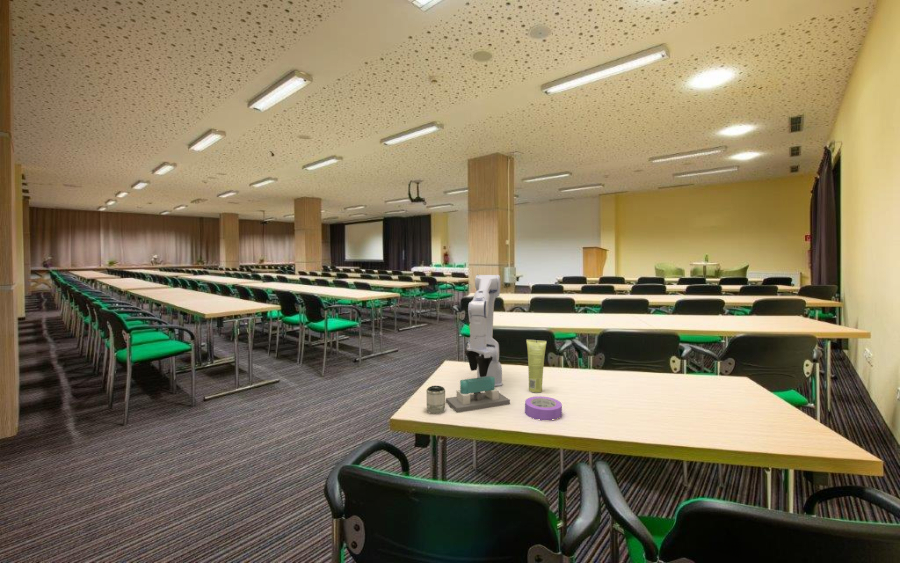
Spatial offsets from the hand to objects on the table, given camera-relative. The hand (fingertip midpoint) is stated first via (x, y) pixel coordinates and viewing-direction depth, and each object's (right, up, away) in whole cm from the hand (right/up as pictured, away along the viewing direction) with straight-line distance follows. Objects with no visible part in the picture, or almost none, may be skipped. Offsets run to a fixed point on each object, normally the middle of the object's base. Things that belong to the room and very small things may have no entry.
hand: (478, 373), depth 137 cm
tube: (+23, -10, +12) cm, 28 cm away
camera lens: (-15, -11, -7) cm, 19 cm away
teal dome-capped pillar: (0, -6, -1) cm, 6 cm away
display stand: (0, -10, 0) cm, 10 cm away
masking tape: (+20, -11, -9) cm, 25 cm away
